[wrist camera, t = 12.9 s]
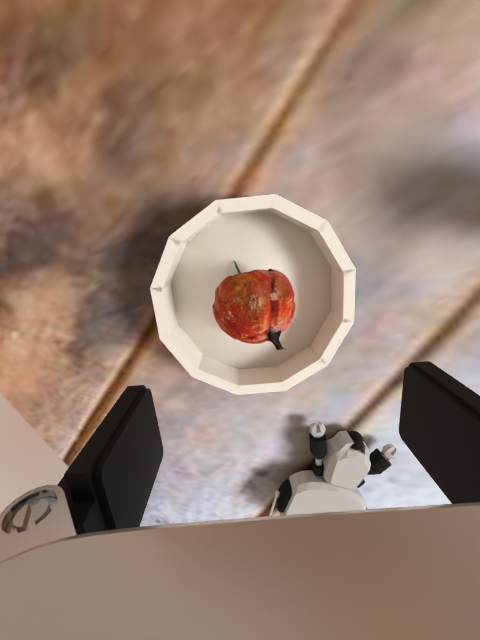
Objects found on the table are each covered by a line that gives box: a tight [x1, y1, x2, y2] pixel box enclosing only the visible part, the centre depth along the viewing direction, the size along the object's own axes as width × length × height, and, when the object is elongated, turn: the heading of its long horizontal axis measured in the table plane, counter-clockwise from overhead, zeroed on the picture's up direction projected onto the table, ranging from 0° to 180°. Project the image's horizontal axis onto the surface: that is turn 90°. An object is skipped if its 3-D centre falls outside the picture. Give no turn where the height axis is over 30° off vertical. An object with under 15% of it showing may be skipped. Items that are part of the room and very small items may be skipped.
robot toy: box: [269, 422, 398, 516], centre depth 35 cm, size 12×4×15 cm
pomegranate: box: [212, 261, 296, 350], centre depth 25 cm, size 7×7×10 cm
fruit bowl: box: [150, 194, 356, 395], centre depth 27 cm, size 18×18×4 cm
